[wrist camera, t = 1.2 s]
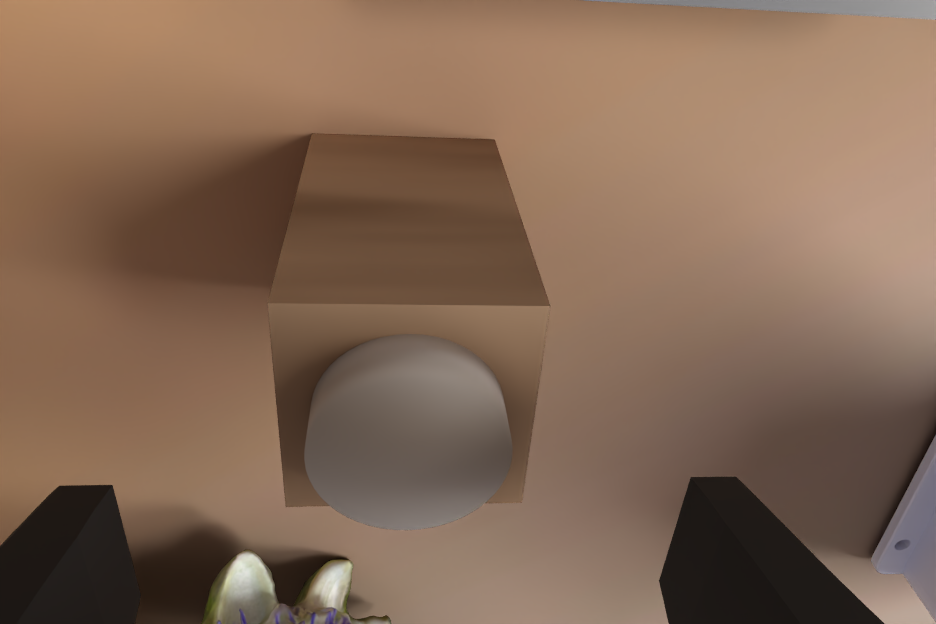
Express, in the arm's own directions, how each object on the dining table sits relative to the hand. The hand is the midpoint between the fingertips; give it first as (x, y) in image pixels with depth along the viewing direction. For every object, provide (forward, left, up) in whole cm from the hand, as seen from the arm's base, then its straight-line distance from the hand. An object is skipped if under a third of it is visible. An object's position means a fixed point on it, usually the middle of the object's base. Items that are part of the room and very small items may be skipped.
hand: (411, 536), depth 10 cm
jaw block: (0, 0, -9) cm, 9 cm away
